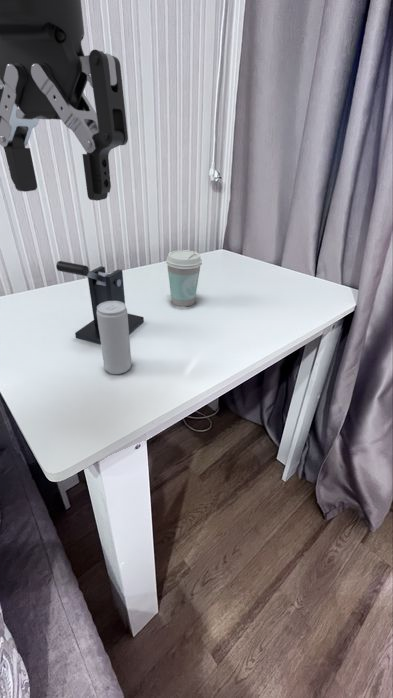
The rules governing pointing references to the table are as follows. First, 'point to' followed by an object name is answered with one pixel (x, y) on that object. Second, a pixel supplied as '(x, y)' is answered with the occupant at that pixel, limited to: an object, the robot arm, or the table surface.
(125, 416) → the table surface
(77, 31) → the robot arm
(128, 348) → the beverage can
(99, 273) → the lever
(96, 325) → the bracket
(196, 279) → the coffee cup
